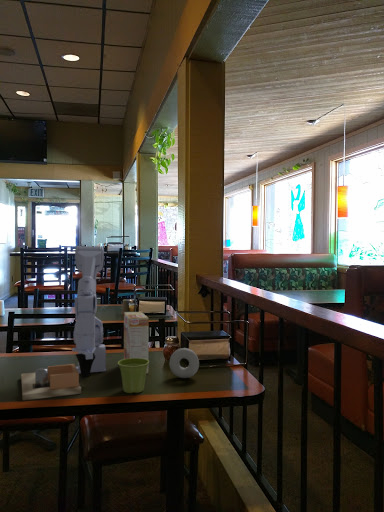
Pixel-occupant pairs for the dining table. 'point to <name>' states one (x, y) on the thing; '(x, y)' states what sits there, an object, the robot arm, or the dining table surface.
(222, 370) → the dining table surface
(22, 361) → the dining table surface
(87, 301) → the robot arm
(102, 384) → the dining table surface
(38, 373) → the peg
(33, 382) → the board
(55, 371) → the light brown open box
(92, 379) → the dining table surface
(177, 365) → the donut
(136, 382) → the plant pot
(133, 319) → the coffeecake box
